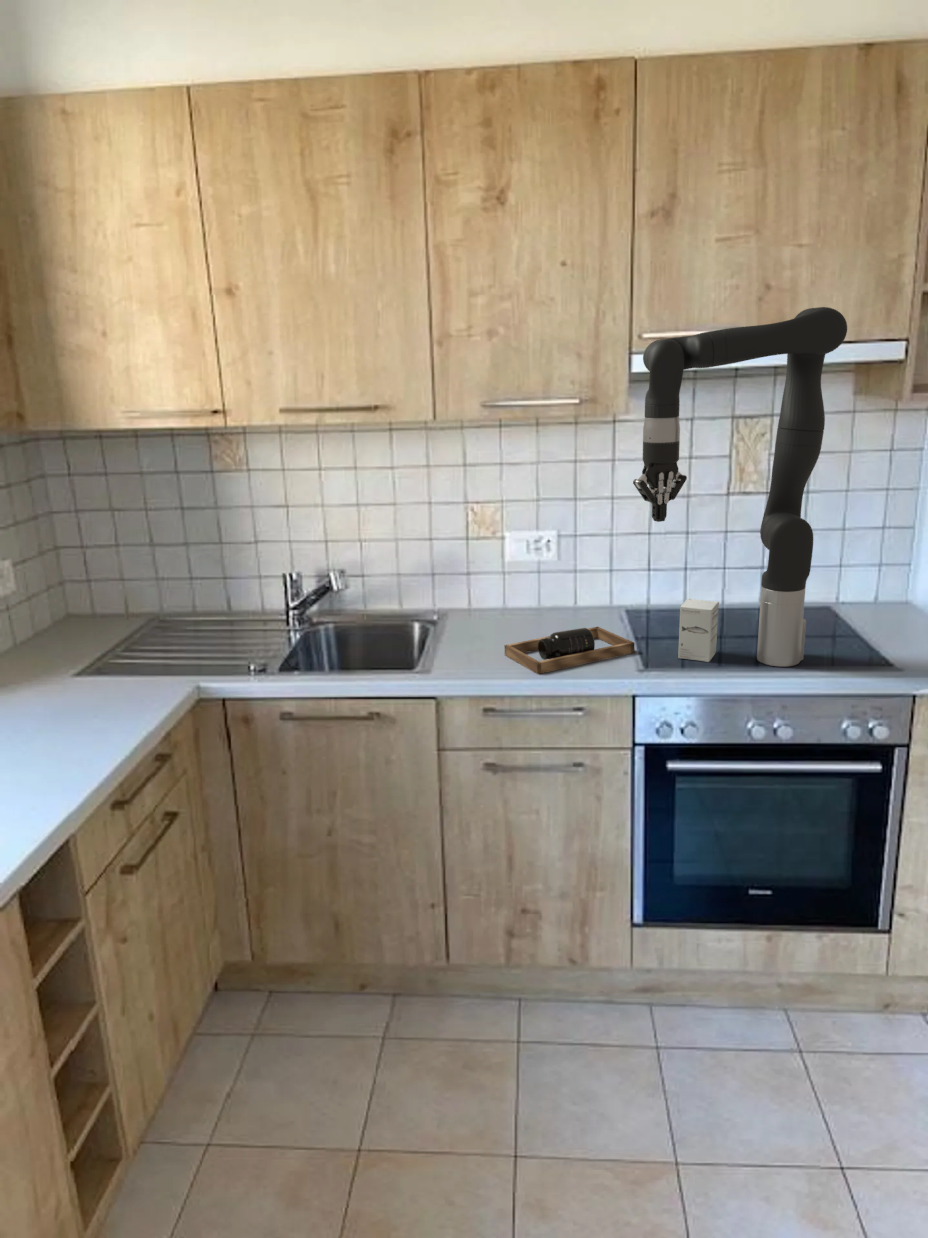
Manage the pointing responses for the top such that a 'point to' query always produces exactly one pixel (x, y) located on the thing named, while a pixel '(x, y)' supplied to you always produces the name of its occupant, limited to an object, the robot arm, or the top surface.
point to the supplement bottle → (566, 643)
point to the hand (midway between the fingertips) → (659, 520)
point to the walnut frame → (618, 649)
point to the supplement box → (698, 630)
